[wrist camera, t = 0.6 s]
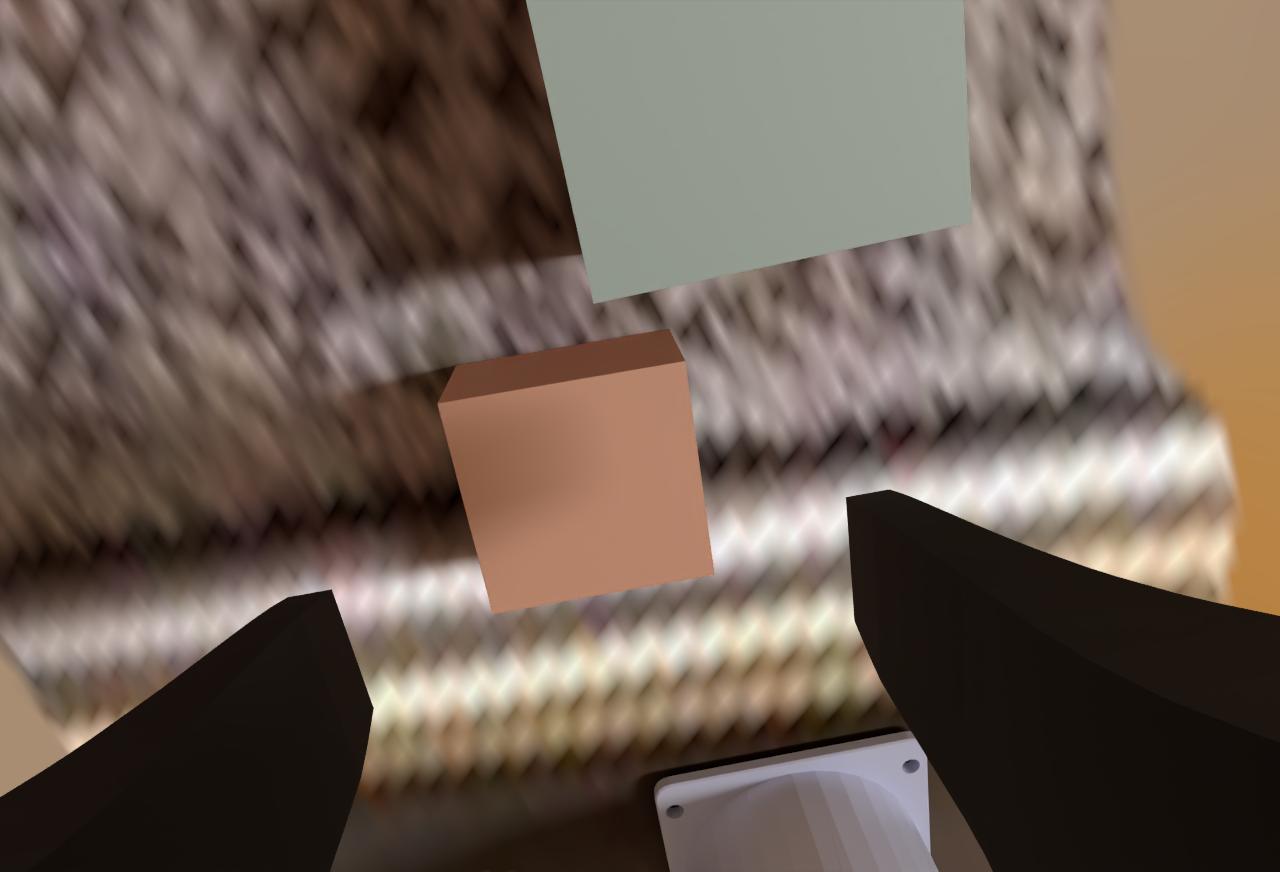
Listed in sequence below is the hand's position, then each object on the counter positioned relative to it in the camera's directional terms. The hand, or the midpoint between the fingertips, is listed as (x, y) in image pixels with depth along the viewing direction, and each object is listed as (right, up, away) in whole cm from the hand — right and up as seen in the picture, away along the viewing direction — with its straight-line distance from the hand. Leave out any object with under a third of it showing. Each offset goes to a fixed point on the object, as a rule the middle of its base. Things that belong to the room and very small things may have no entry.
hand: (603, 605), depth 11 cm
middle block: (+2, +9, +3) cm, 9 cm away
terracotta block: (-1, +2, +8) cm, 9 cm away
